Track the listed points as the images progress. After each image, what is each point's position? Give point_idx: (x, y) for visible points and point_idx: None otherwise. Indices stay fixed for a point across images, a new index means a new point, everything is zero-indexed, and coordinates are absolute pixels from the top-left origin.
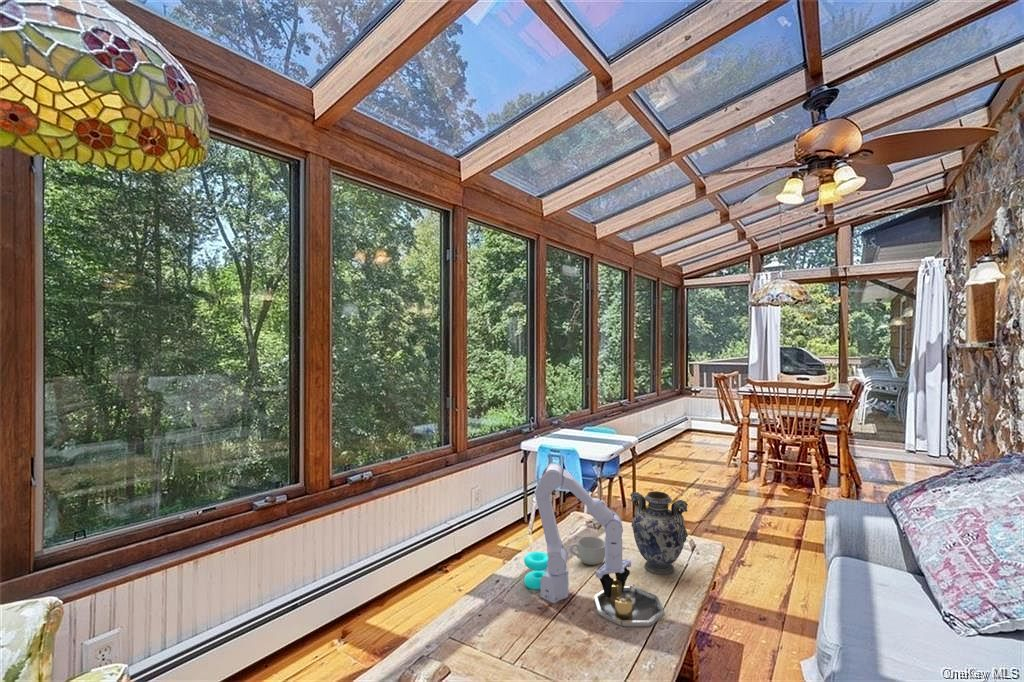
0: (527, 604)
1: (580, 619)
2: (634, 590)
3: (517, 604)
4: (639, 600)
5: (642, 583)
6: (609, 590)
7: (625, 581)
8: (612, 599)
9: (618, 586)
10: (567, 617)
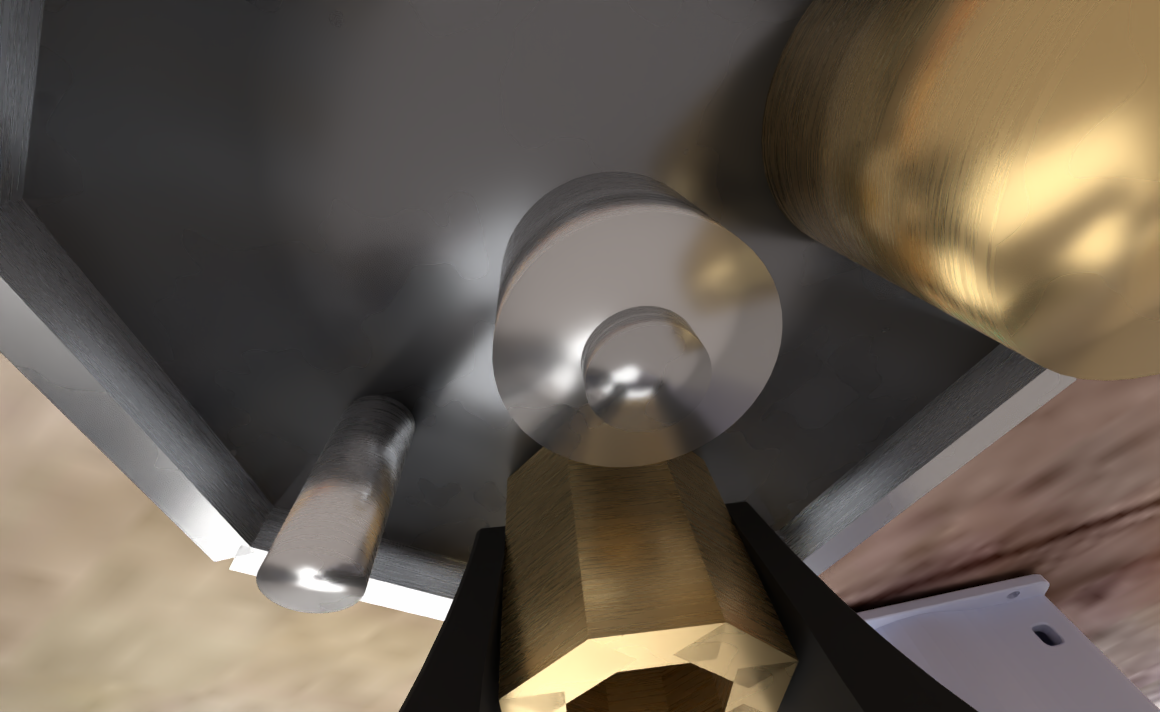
0: (1090, 637)
1: (1119, 387)
2: (318, 479)
3: (1117, 650)
4: (325, 319)
5: (40, 576)
6: (831, 593)
7: (423, 692)
8: (701, 471)
9: (693, 628)
10: (1135, 454)
